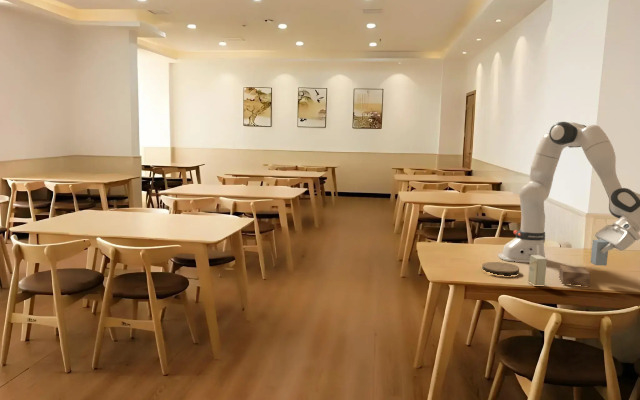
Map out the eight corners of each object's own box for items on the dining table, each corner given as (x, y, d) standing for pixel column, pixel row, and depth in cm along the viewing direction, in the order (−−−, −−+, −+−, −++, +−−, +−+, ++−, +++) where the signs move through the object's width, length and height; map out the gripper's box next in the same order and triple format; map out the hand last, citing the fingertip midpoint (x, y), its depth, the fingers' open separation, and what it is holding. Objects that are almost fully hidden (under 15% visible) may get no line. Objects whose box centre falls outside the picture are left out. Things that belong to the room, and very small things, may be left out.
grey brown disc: (516, 279, 218) (516, 273, 218) (478, 274, 226) (479, 268, 226) (521, 271, 232) (521, 264, 232) (485, 266, 240) (486, 260, 239)
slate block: (595, 265, 210) (597, 241, 209) (590, 262, 214) (592, 239, 213) (606, 265, 210) (608, 242, 208) (601, 262, 214) (603, 239, 213)
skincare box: (527, 282, 213) (529, 254, 212) (537, 282, 214) (539, 254, 212) (535, 287, 207) (537, 258, 205) (545, 287, 207) (547, 258, 206)
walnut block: (562, 285, 211) (563, 271, 210) (558, 278, 220) (559, 265, 219) (588, 287, 208) (590, 273, 207) (584, 280, 217) (585, 267, 216)
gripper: (608, 218, 219) (582, 239, 221) (632, 227, 199) (604, 250, 201) (617, 228, 219) (592, 249, 222) (643, 239, 199) (615, 261, 201)
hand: (598, 250), depth 211 cm, fingers closed on slate block, 4 cm apart
